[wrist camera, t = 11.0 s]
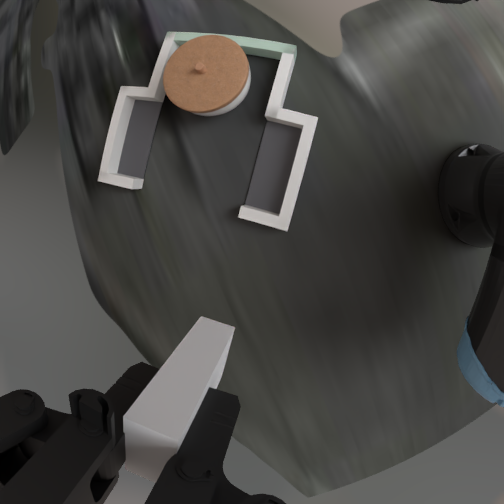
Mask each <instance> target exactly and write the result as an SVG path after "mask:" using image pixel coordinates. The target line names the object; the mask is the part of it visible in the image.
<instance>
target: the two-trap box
mask: <svg viewBox="0 0 504 504" xmlns="http://www.w3.org/2000/svg"><path fill="white" fill-rule="evenodd" d="M204 35H220V36H224V37H227V38H230V39H231V40H233V41H235V42H236V43H237V44H238V45H240V47H241V48H242V49H243V51H244V53H245V54H249V55H255V56H261V57H267V58H272V59H278V60H280V63H279V67H278V70H277V74H276V77H275V81H274V84H273V88H272V91H271V95H270V99H269V102H268V106H267V109H266V113H265V117H266V119H267V123H266V127H265V130H264V134H263V138H262V142H261V145H260V149H259V153H258V157H257V160H256V164H255V168H254V172H253V176H252V179H251V183H250V187H249V191H248V195H247V199H246V202H245V205H242V206H241V208H240V212H239V215H238V217H239V218H242V219H246V220H249V221H253V222H256V223H260V224H264V225H267V226H271V227H274V228H277V229H281V230H284V231H288V228H289V224H290V221H291V217H292V214H293V210H294V206H295V203H296V199H297V196H298V192H299V188H300V185H301V181H302V177H303V174H304V170H305V166H306V162H307V159H308V155H309V151H310V147H311V144H312V140H313V136H314V132H315V128H316V124H317V120H318V117H314V116H310V115H307V114H303V113H299V112H295V111H291V110H287V109H283V108H282V107H283V103H284V100H285V96H286V92H287V89H288V85H289V81H290V78H291V74H292V70H293V67H294V63H295V59H296V56H297V49H296V46H295V45H290V44H285V43H280V42H274V41H268V40H262V39H255V38H248V37H240V36H231V35H221V34H209V33H192V32H167V35H166V37H165V40H164V43H163V45H162V48H161V51H160V54H159V56H158V59H157V62H156V65H155V68H154V71H153V74H152V77H151V80H150V83H149V87H133V86H121V88H120V91H119V94H118V98H117V101H116V105H115V108H114V112H113V116H112V119H111V123H110V127H109V131H108V135H107V140H106V144H105V148H104V153H103V158H102V162H101V167H100V173H99V178H98V181H100V182H104V183H108V184H112V185H116V186H120V187H124V188H128V189H142V185H143V181H144V176H145V171H146V167H147V162H148V158H149V154H150V149H151V145H152V141H153V137H154V133H155V130H156V126H157V122H158V118H159V115H160V111H161V108H162V104H163V101H164V97H165V94H166V92H165V90H164V86H163V74H164V69H165V66H166V64H167V62H168V60H169V58H170V57H171V55H172V54H173V53H174V52H175V51H176V50H177V49H178V48H179V47H180V46H181V45H183V44H184V43H186V42H187V41H189V40H191V39H194V38H196V37H200V36H204Z"/></svg>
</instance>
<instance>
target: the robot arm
mask: <svg viewBox="0 0 504 504" xmlns="http://www.w3.org/2000/svg"><path fill="white" fill-rule="evenodd" d="M438 197H439V205H440V210H441V213H442V216H443V219H444V221H445V223H446V225H447V226H448V228H449V229H450V231H451V232H452V233H453V234H454V235H455V236H456V237H457V238H458V239H459V240H461V241H463V242H465V243H467V244H469V245H472V246H475V247H480V248H487V247H492V250H491V254H490V257H489V260H488V264H487V267H486V270H485V273H484V276H483V279H482V282H481V285H480V288H479V291H478V294H477V297H476V299H475V302H474V305H473V307H472V310H471V312H470V315H469V316H468V317H467V319H466V322H465V329H464V332H463V334H462V337H461V339H460V342H459V344H458V348H457V357H458V364H459V367H460V370H461V372H462V374H463V376H464V377H465V379H466V380H467V381H468V383H469V384H470V385H471V386H472V387H473V388H474V389H475V391H477V392H478V393H479V394H480V395H481V396H482V397H484V398H485V399H487V400H488V401H490V402H492V403H494V402H497V403H498V405H499V406H501V407H504V152H502V151H500V150H498V149H496V148H494V147H491V146H489V145H485V144H472V145H467V146H463V147H461V148H459V149H457V150H456V151H455V152H454V153H452V155H451V156H450V157H449V158H448V159H447V161H446V163H445V165H444V167H443V169H442V172H441V175H440V180H439V187H438ZM234 330H235V327H233V326H230V325H226V324H223V323H220V322H217V321H214V320H211V319H208V318H205V317H202V316H201V317H200V318H199V319H198V321H197V322H196V323H195V325H194V326H193V327H192V328H191V330H190V331H189V332H188V334H187V335H186V336H185V337H184V339H183V340H182V341H181V343H180V344H179V345H178V347H177V348H176V349H175V350H174V352H173V353H172V354H171V356H170V357H169V358H168V359H167V361H166V362H165V363H164V365H163V366H162V367H161V368H160V369H158V368H155V367H153V366H151V365H148V364H146V363H143V362H140V363H138V364H136V365H133V366H131V367H130V368H129V369H128V370H127V371H126V372H125V373H124V374H123V375H122V377H120V378H119V379H118V380H117V381H116V384H114V385H113V386H112V387H111V388H110V389H109V390H108V391H107V392H106V393H105V394H103V393H101V392H99V391H96V390H93V389H80V390H75V391H74V392H72V393H70V394H69V401H70V407H71V412H72V414H66V413H62V412H59V411H56V410H52V409H50V408H47V407H45V405H44V402H43V400H42V398H41V397H40V396H39V395H38V394H36V393H35V392H32V391H30V390H21V389H20V390H16V391H12V392H10V393H8V394H6V395H4V396H2V397H0V504H103V503H104V502H105V500H106V499H107V497H108V495H109V494H110V492H111V491H112V489H113V488H114V486H115V484H116V483H117V481H118V478H119V473H118V471H119V470H120V468H121V466H122V465H123V463H124V462H125V469H126V470H128V471H130V472H132V473H134V474H137V475H139V476H141V477H143V478H145V479H148V480H150V481H153V482H155V485H154V487H153V489H152V491H151V493H150V495H149V496H148V498H147V500H146V502H145V504H286V503H284V502H283V501H282V500H281V499H279V498H277V497H275V496H273V495H266V494H257V495H249V494H247V493H245V492H243V491H242V490H240V489H238V488H237V487H235V486H234V485H232V484H231V483H230V482H229V481H228V480H227V478H226V476H225V475H224V472H223V467H222V466H223V461H224V457H225V454H226V451H227V448H228V445H229V442H230V439H231V436H232V433H233V430H234V426H235V423H236V420H237V417H238V414H239V411H240V404H239V400H238V396H236V395H233V394H229V393H226V392H223V391H220V390H217V389H216V388H217V386H218V384H219V382H220V379H221V377H222V374H223V370H224V366H225V363H226V359H227V355H228V352H229V348H230V344H231V341H232V337H233V333H234Z"/></svg>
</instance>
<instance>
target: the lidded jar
mask: <svg viewBox="0 0 504 504" xmlns="http://www.w3.org/2000/svg"><path fill="white" fill-rule="evenodd" d="M250 83H251V72H250V67H249V63H248V60H247V56H246V54H245V53H244V51H243V49H242V48H241V47H240V45H238V44H237V43H236V42H235V41H233V40H231V39H230V38H227V37H224V36H220V35H204V36H200V37H196V38H194V39H191V40H189V41H187V42H186V43H184V44H183V45H181V46H180V47H179V48H178V49H177V50H176V51H175V52H174V53H173V54H172V55H171V57H170V58H169V60H168V62H167V64H166V66H165V69H164V74H163V86H164V90H165V92H166V95H167V96H168V98H169V99H170V100H171V101H172V102H173V103H174V104H175V105H176V106H178V107H179V108H181V109H183V110H185V111H189V112H191V113H193V114H197V115H201V116H217V115H221V114H225V113H227V112H229V111H231V110H233V109H234V108H236V107H237V106H238V105H239V104H240V103H241V102H242V101H243V100H244V98H245V96H246V95H247V93H248V90H249V87H250Z"/></svg>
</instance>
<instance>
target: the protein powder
mask: <svg viewBox="0 0 504 504" xmlns="http://www.w3.org/2000/svg"><path fill="white" fill-rule="evenodd" d="M430 1H435V2H440V3H453V4H462V3H465V2H468V1H470V0H430ZM476 1H478V0H476Z"/></svg>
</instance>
